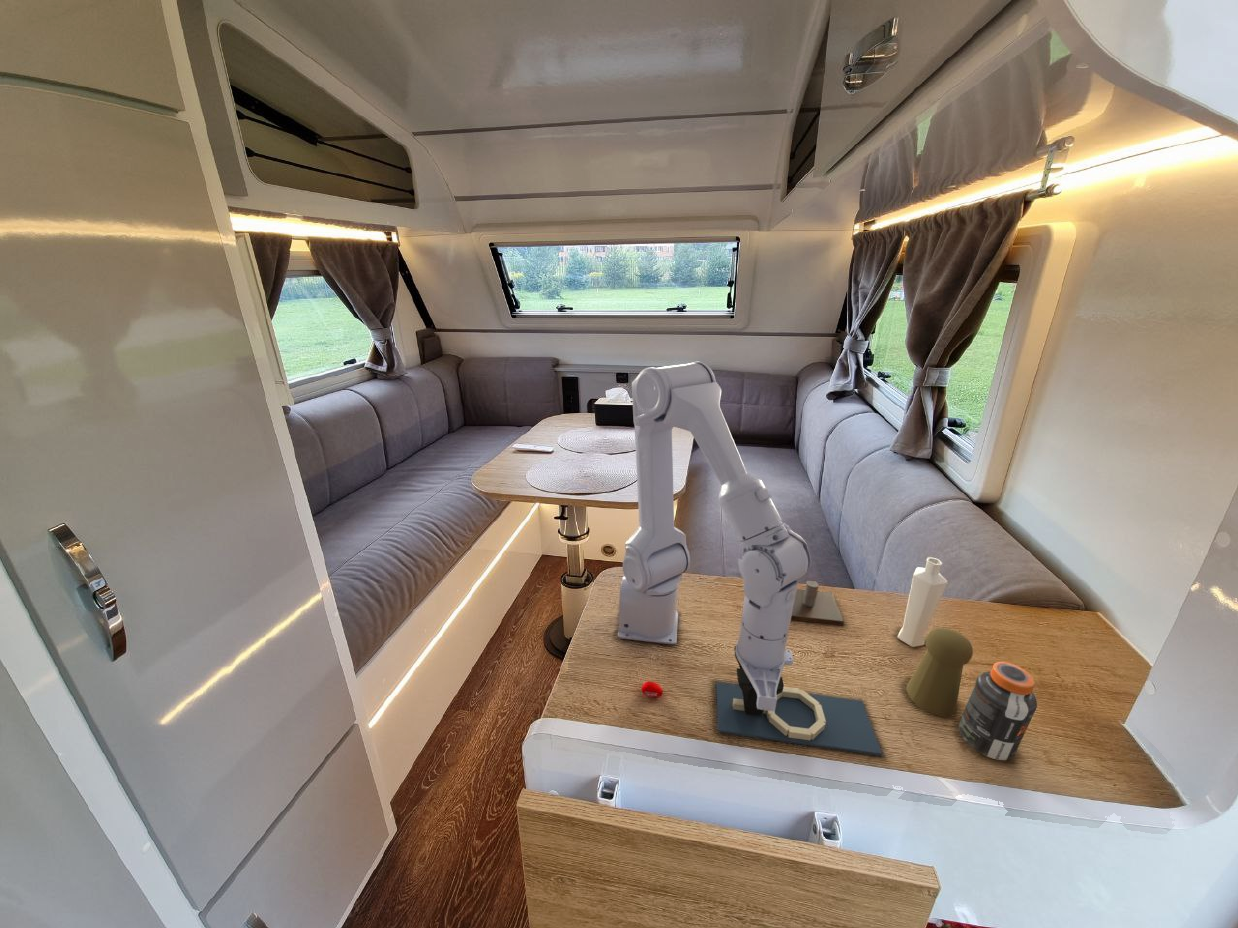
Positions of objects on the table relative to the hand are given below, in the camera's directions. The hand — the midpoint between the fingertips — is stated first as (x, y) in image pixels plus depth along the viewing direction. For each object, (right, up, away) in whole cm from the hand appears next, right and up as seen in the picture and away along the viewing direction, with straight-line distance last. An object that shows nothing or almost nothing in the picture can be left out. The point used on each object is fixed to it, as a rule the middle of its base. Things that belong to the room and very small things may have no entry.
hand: (751, 704), depth 64 cm
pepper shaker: (+26, -1, +3) cm, 26 cm away
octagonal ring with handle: (+3, -1, 0) cm, 3 cm away
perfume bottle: (+30, +4, +14) cm, 33 cm away
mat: (+5, -2, 0) cm, 6 cm away
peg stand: (+14, +7, +21) cm, 26 cm away
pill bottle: (+29, -3, -3) cm, 30 cm away
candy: (-13, 0, +3) cm, 14 cm away
